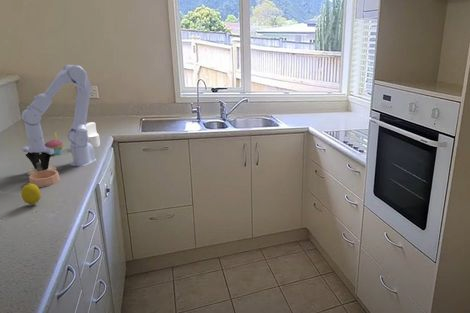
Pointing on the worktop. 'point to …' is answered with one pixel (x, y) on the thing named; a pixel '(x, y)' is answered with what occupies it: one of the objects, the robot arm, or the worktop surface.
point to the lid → (39, 168)
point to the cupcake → (55, 145)
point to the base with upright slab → (93, 134)
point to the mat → (28, 175)
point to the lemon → (30, 193)
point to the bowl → (44, 178)
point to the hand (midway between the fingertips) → (41, 168)
